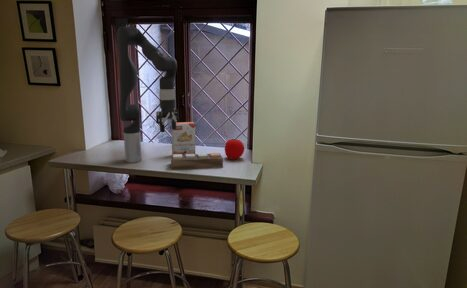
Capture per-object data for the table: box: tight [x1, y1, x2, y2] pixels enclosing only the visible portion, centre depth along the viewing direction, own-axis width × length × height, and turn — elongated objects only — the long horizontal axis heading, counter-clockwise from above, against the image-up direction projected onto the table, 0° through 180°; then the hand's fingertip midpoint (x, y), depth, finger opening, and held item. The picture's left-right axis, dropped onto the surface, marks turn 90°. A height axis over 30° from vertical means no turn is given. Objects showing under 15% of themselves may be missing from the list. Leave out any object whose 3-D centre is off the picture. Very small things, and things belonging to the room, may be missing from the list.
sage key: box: [197, 152, 208, 158], centre depth 189 cm, size 5×5×3 cm
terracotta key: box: [209, 152, 220, 158], centre depth 191 cm, size 5×5×3 cm
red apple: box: [224, 138, 245, 160], centre depth 203 cm, size 12×12×13 cm
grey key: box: [186, 153, 196, 159], centre depth 188 cm, size 5×5×3 cm
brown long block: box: [170, 152, 224, 170], centre depth 189 cm, size 11×29×5 cm, turn 101°
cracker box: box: [171, 121, 196, 155], centre depth 208 cm, size 14×6×21 cm, turn 112°
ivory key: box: [173, 154, 182, 159], centre depth 187 cm, size 5×5×3 cm
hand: (168, 130), depth 168 cm, fingers open, 8 cm apart
